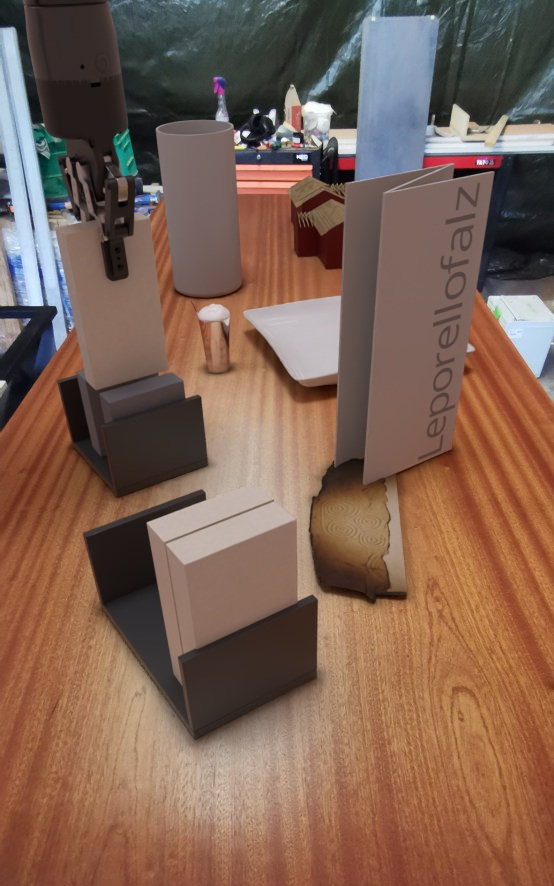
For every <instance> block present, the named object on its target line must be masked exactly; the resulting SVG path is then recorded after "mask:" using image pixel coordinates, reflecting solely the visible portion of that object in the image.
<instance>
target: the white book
mask: <svg viewBox="0 0 554 886" xmlns="http://www.w3.org/2000/svg"><path fill="white" fill-rule="evenodd" d="M104 220H105V218H104ZM115 224H116V222H115ZM54 231H55V235H56V241H57V246H58V250H59V255H60V260H61V265H62V271H63V275H64V280H65V284H66V289H67V294H68V300H69V303H70V307H71V313H72V318H73V323H74V328H75V333H76V337H77V342H78V347H79V353H80V357H81V363H82V366H83V369H84V372H85V377H86V381H87V382H88V383H89V384H90V385H91V386H92V387H93V388H94V389H95V390H99V389H103V388H106V387H110V386H113V385H117V384H120V383H124V382H127V381H131V380H134V379H138V378H141V377H145V376H148V375H152V374H155V373H161V372H166V371H169V370H170V366H169V358H168V350H167V342H166V335H165V334H166V333H165V326H164V317H163V311H162V303H161V294H160V288H159V287H160V286H159V280H158V279H159V278H158V272H157V261H156V255H155V247H154V240H153V231H152V223H151V218H150V217H149V216H147V215H145V214H143V213H141V212H140V211H134V233H133V236H129V237H126V238H124V245H125V251H126V258H127V265H128V271H129V275H128V277H127V278H126V279H122V280H118V281H111V280H109V279H108V278H107V277H106V272H105V266H104V260H103V254H102V248H101V240H100V238H99V233H98V228H97V224H96V220H92V221H87V222H82V221H80V222H76V223H72V224H71V223H70V224H67V225H66V224H65V225H61V226H55V227H54Z"/></svg>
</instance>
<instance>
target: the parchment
mask: <svg viewBox="0 0 554 886" xmlns="http://www.w3.org/2000/svg"><path fill="white" fill-rule="evenodd" d="M364 459H365V458H359V459H358V458H352V459H350V460H349V461H345V462H344V463H342V464H340V465H338V466H337V467H334V460H333V461H332V463H331V465H330V466H328V468H327V469H326V471H325V473H324V475H323V476H321V481H320V482H321V487H320V489H319V491H318V492H317V493H318V494H317V495H316V496H315V495H314V496H312V497H311V504H310V511H309V526H308V532H309V534H310V546H311V551H312V556H313V565H314V571H315V573H316V575H317V580H319V582H320V584H321V586H322V587H329V586H333V587H337V588H342V589H346V590H348V589H349V590H351V591H353V590H354V591H357V592H360V593H364V595H366V596H367V598H369V599H370V600H373V601H376V600H377V599H378V598H377V595H383V596H390V595H391V596H395V595H396V596H405V595H408V586H407V577H406V575H407V574H406V566H405V557H404V547H403V539H402V538H403V537H402V527H401V515H400V506H399V505H400V503H399V494H398V493H399V492H398V483H397V482H398V481H397V473H395V474H393V475H390V476H388V477H386V478H381V479H378V480H376V481H374V482H372V483H369V484H367V485H363V473H364Z"/></svg>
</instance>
